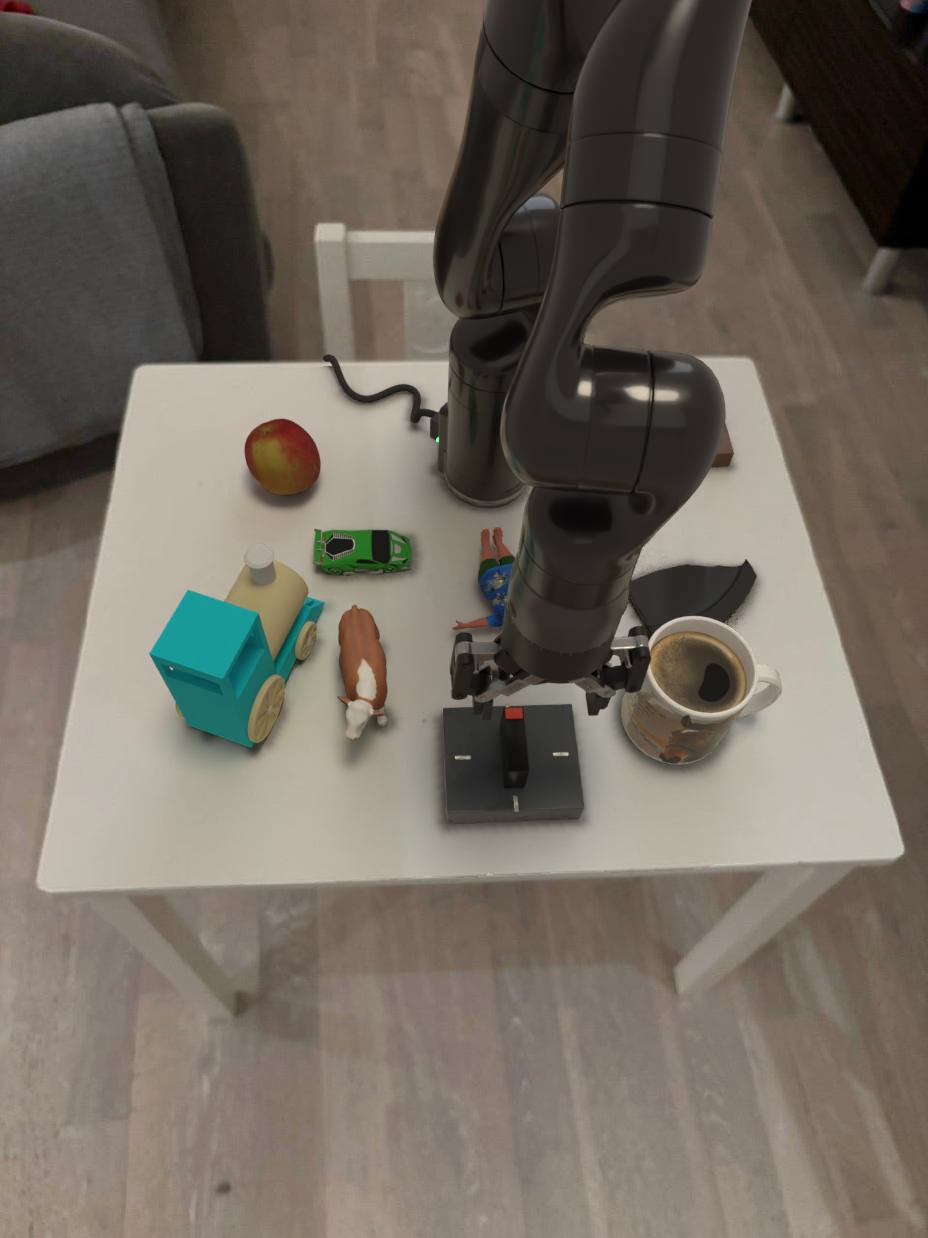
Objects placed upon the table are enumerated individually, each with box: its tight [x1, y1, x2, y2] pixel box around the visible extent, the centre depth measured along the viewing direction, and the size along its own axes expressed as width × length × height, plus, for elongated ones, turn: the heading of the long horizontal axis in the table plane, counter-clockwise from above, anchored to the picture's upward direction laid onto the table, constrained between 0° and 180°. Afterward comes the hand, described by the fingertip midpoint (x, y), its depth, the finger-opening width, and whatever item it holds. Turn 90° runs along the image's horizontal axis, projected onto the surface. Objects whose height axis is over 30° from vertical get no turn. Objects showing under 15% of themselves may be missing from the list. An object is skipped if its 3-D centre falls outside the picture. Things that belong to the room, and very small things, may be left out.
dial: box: [500, 707, 529, 788], centre depth 79 cm, size 6×2×4 cm, turn 3°
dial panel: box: [441, 703, 585, 824], centre depth 82 cm, size 12×10×3 cm
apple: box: [243, 418, 322, 496], centre depth 96 cm, size 8×8×8 cm
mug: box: [620, 616, 783, 766], centre depth 82 cm, size 10×12×11 cm
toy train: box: [148, 543, 326, 749], centre depth 81 cm, size 8×17×15 cm, turn 161°
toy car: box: [312, 528, 413, 576], centre depth 94 cm, size 10×5×2 cm, turn 94°
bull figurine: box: [337, 604, 389, 741], centre depth 83 cm, size 4×13×8 cm, turn 4°
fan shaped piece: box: [629, 558, 758, 636], centre depth 93 cm, size 8×14×2 cm, turn 108°
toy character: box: [452, 526, 516, 631], centre depth 90 cm, size 12×5×15 cm
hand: (537, 707), depth 72 cm, fingers open, 8 cm apart
